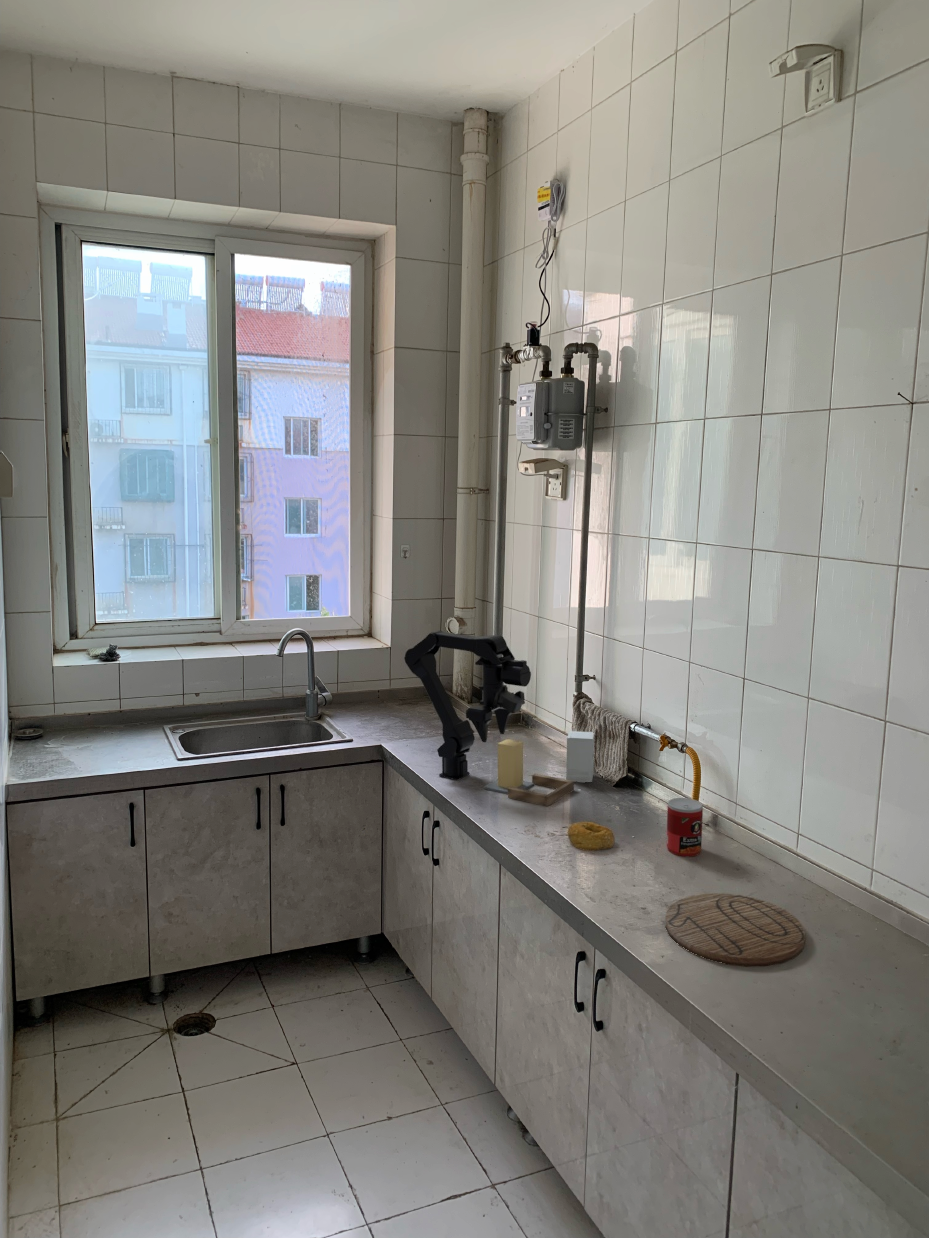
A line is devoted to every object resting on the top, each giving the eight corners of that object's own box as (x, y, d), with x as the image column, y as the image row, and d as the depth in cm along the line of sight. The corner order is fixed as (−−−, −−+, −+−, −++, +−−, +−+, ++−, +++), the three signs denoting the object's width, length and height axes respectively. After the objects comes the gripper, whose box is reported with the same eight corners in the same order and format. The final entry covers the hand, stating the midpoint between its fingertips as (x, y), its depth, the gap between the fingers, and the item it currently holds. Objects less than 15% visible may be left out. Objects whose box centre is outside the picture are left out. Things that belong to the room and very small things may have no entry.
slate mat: (483, 788, 250) (483, 786, 250) (502, 778, 258) (502, 776, 258) (515, 795, 244) (515, 793, 244) (534, 785, 252) (534, 782, 252)
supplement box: (592, 783, 254) (593, 739, 252) (565, 781, 255) (566, 737, 253) (594, 774, 261) (594, 731, 259) (567, 773, 262) (568, 730, 260)
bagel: (605, 855, 206) (605, 835, 205) (560, 846, 211) (560, 826, 211) (621, 841, 214) (621, 821, 214) (577, 832, 220) (577, 813, 219)
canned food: (682, 859, 203) (683, 812, 202) (658, 846, 210) (660, 800, 209) (708, 853, 207) (710, 806, 205) (685, 840, 214) (686, 795, 212)
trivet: (723, 981, 156) (723, 970, 155) (638, 917, 178) (638, 907, 178) (835, 949, 165) (836, 940, 165) (741, 892, 188) (742, 884, 188)
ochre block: (497, 786, 250) (497, 743, 248) (507, 780, 254) (507, 738, 252) (513, 789, 247) (513, 746, 245) (522, 784, 251) (523, 741, 249)
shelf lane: (507, 797, 243) (507, 788, 243) (534, 782, 255) (534, 773, 254) (548, 806, 236) (548, 796, 236) (573, 790, 248) (573, 781, 248)
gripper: (500, 692, 237) (500, 751, 240) (535, 679, 253) (535, 734, 255) (464, 687, 243) (465, 744, 246) (501, 674, 259) (501, 728, 261)
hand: (493, 737), depth 252 cm, fingers open, 9 cm apart
